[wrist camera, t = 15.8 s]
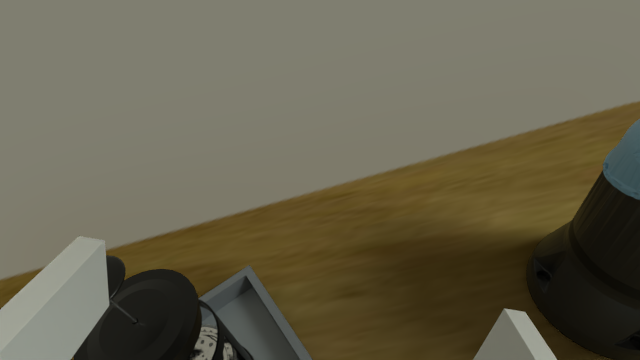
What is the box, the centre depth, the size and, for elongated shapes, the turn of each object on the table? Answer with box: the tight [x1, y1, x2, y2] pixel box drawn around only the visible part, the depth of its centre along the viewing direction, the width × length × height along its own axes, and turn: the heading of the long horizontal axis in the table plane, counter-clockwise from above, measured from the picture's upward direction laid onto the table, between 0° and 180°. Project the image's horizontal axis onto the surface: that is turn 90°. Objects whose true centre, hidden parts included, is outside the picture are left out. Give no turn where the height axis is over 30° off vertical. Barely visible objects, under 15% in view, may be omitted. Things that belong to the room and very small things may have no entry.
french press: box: [74, 255, 254, 360], centre depth 29 cm, size 12×9×23 cm
